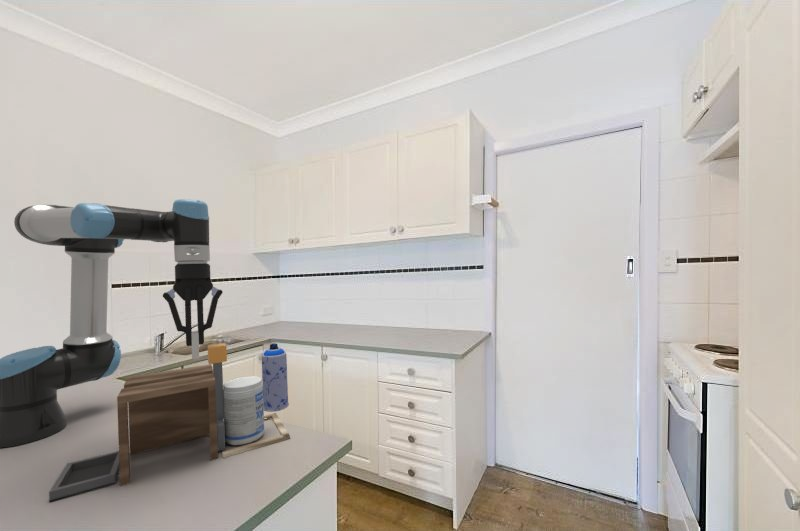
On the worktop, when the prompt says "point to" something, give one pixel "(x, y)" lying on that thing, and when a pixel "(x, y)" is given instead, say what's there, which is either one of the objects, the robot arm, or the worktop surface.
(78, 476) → the tray
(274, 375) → the aerosol can
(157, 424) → the walnut tunnel
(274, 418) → the frame
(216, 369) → the slider
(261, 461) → the worktop surface
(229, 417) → the supplement tub
